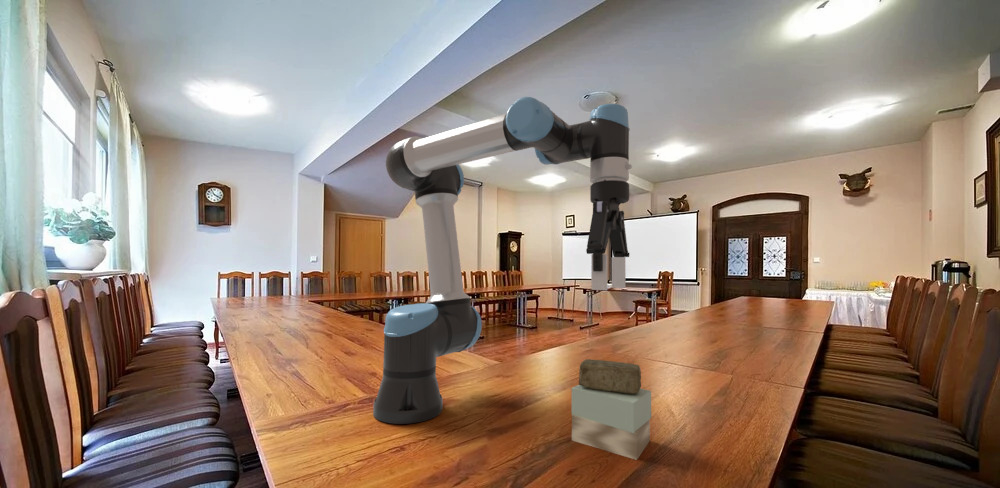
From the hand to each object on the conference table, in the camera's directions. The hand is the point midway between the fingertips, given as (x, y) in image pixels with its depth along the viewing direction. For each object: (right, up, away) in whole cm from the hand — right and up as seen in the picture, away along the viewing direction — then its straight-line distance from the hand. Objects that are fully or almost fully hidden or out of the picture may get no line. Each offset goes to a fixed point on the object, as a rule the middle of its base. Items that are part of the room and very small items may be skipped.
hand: (609, 288), depth 73 cm
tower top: (-1, -24, -3) cm, 24 cm away
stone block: (-1, -19, -2) cm, 19 cm away
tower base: (-1, -29, -3) cm, 29 cm away
